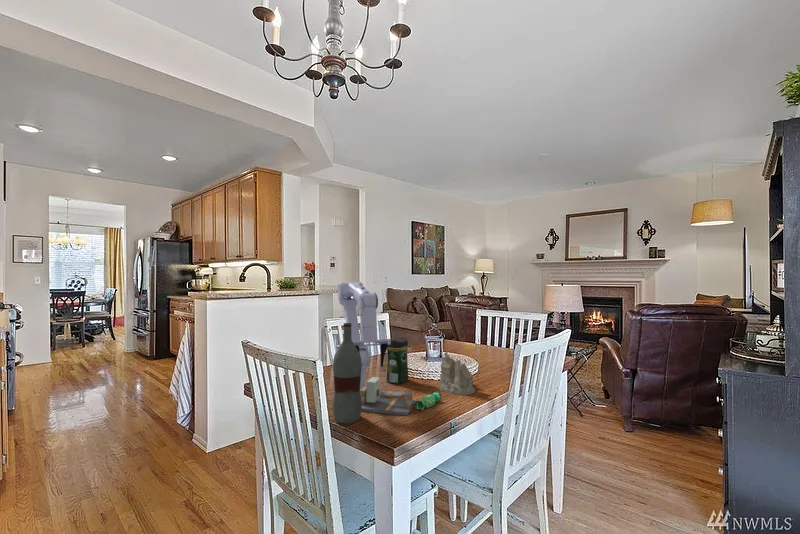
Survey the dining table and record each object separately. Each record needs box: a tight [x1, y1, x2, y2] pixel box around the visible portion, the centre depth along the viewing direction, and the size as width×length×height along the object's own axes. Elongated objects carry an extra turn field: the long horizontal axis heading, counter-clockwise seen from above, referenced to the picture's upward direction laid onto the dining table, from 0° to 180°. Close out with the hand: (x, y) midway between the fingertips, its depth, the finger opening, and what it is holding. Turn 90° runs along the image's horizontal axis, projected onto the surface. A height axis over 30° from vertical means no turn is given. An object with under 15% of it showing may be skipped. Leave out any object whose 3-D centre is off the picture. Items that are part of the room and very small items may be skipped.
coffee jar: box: [386, 336, 409, 384], centre depth 161 cm, size 10×8×19 cm
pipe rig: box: [360, 386, 416, 416], centre depth 130 cm, size 18×12×6 cm, turn 76°
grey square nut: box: [366, 376, 381, 403], centre depth 131 cm, size 3×6×7 cm, turn 166°
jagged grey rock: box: [438, 351, 476, 396], centre depth 152 cm, size 16×16×15 cm
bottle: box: [332, 322, 362, 424], centre depth 120 cm, size 9×9×30 cm
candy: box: [413, 391, 443, 411], centre depth 132 cm, size 12×3×4 cm
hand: (370, 367), depth 130 cm, fingers open, 7 cm apart
